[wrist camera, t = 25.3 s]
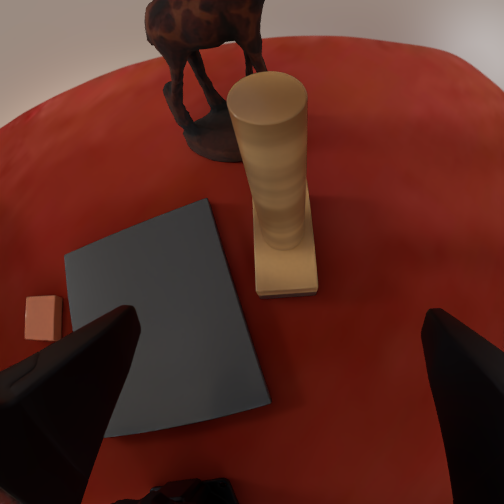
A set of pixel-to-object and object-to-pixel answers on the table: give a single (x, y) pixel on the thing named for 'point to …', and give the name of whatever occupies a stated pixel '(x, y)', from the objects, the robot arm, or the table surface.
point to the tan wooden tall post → (276, 180)
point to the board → (171, 320)
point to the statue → (187, 48)
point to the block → (43, 318)
